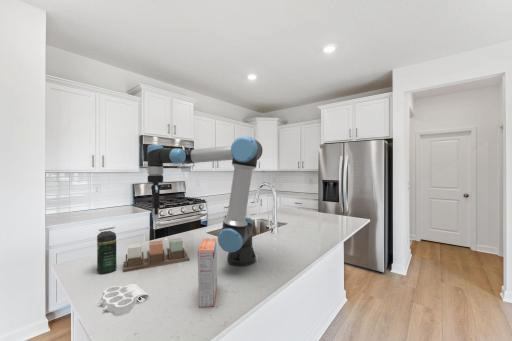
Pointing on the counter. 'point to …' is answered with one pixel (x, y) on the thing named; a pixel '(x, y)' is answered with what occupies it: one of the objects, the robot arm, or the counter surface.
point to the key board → (154, 260)
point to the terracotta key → (155, 247)
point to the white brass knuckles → (122, 298)
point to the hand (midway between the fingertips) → (155, 219)
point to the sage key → (175, 244)
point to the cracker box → (207, 273)
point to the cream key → (134, 250)
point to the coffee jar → (106, 252)
